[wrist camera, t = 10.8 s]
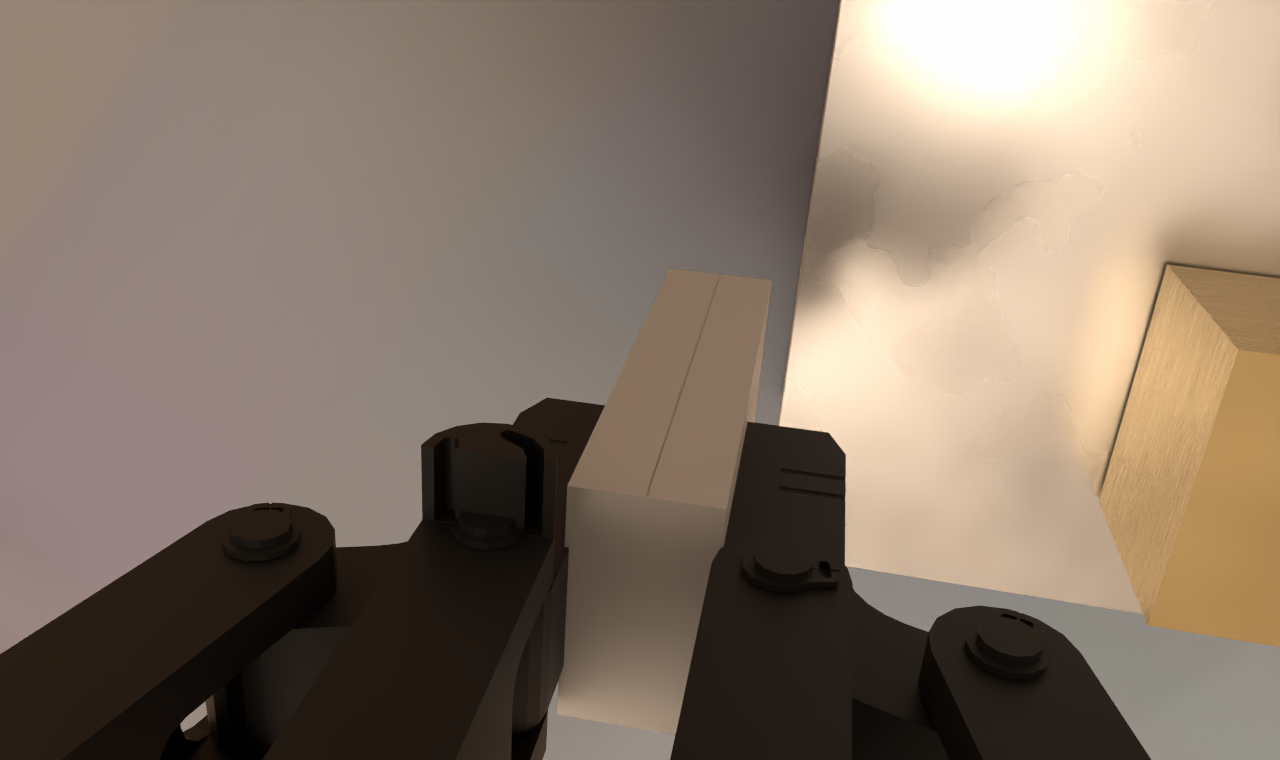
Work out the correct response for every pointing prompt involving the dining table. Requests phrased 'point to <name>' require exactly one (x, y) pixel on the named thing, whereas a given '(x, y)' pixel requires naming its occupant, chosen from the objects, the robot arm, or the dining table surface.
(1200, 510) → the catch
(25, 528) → the dining table surface
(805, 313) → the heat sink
